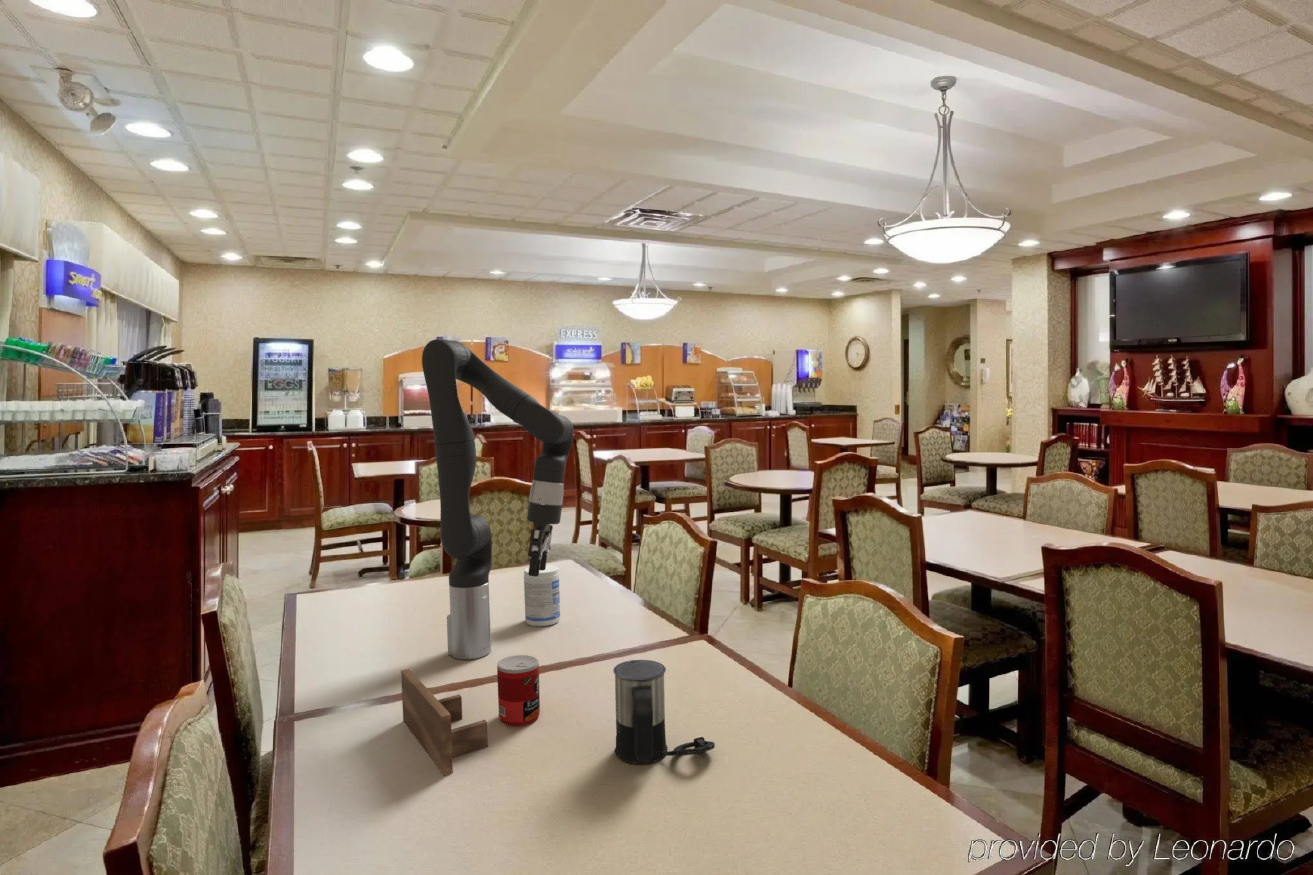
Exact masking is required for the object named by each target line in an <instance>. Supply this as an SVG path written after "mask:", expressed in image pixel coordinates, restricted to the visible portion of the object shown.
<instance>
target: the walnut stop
mask: <svg viewBox="0 0 1313 875" xmlns="http://www.w3.org/2000/svg"><path fill="white" fill-rule="evenodd" d="M400 674H401V675H400V676H401V677H400V678H401V700H402V702H401V703H402V722H403V724H404V725H405V726H406V728H408V730H409V731H410V732H411V734H412V735H413V736H414V737H415V739H416V741H417V742H418V743H419V744H420V746H421V747H422V749H423V750H424V751H425V752H426V755H428V757H429V758H430V759H431V761H432V763H434V765H435V766H436V768H437V769H438V770H439V771H440V773H441V774H442V775H443V776H448V775H451V774H453V773H454V769H453V768H454V767H453V766H454V765H453V759H454V758H458V757H460V756H463V755H467V754H470V753H473V752H476V751H479V750H482V749H486V748H489V738H488V734H489V733H488V721H487V720H486V719H482V720H479V721H476V722H472V723H468V724H465V725H462V726H458V727H455V728H452V723H454V722H458V721H461V720H463V706H462V705H463V703H462V702H463V701H462V696H461V694H456V695H452V696H448V697H444V698H440V699H437V697H436V696H435V695H434V694H433V693H432V692H431V691H430V689H428V687H426V685H424V684H425V683H423V682H422V681H421V680H420V679H419V678H418V677H417V676H416V675H415V674H414V672H412V670H411V669H410V668H407V669H401V670H400Z"/></svg>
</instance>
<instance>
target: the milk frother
mask: <svg viewBox="0 0 1313 875" xmlns="http://www.w3.org/2000/svg"><path fill="white" fill-rule="evenodd" d="M666 671H667V668H666V666H665V665H664V664H663V663H661V662H658V661H656V660H650V659H630V660H627V661H624V662H620V663H618V664H617V665H615V666H614V667H613V671H612V672H613V674H614V679H615V680H614V683H615V684H614V685H615V687H614V688H615V691H614V692H615V694H614V695H615V699H614V700H615V727H616V728H615V730H616V731H615V732H616V736H615V748H614V754H615V756H616V757H617V758H618V759H619V760H621V761H623V762H626V763H629V764H633V765H634V764H635V765H640V764H641V765H646V764H651V763H655V762H658V761H659V760H661V759H662V760H663V758H664V757H665V756H669V757H670V756H673V757H674V756H675V757H676V756H690V755H696V754H697V755H702V754H705V753H706V752H708V751H711V750H713V749H715V748H716V747H715V746H716V744H715V742H714V741H709V740H706V739H705V738H704V736H700V737H695V738H694V739H693V741H692V742H686V743H685V742H684V743H683V744H679V745H678V746H676V747H674V748H673V750H668V745H667V740H666V738H667V737H666V720H665V719H666V718H665V717H666V714H665V712H666V711H665V710H666V709H665V708H666V706H665V700H666V699H665V673H666Z"/></svg>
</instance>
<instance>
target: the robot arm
mask: <svg viewBox="0 0 1313 875" xmlns="http://www.w3.org/2000/svg"><path fill="white" fill-rule="evenodd" d="M421 366H422V371H423V377H424V381H425V385H426V389H427V390H426V391H427V394H428V400H429V406H430V407H429V408H430V414H431V422H432V424H431V425H432V431H433V442H434V454H435V463H436V467H437V469H436V470H437V478H438V487H439V488H438V489H439V501H440V503H439V504H440V506H439V507H440V516H439V517H440V518H439V519H440V522H439V523H440V530H439V531H440V541H441V545H442V548H443V550H444V552H445V553H446V554H447V555H448V556H449V557H450V558H452V559H454V560H455V559H456V561H455V564H454V566H453V568H452V569H451V571H450V572H449V575H448V585H449V586H448V587H449V588H448V589H449V590H448V591H449V614H447V616H446V633H447V634H446V636H447V655H448V656H452V657H453V658H454V659H457V660H474V659H475V660H476V659H479V658H483V657H486V656H487V655H489V654H490V653H491V651H492V646H491V645H492V643H491V642H492V641H491V639H492V638H491V615H490V614H491V612H490V611H491V610H490V586H489V585H490V582H489V576H490V572H491V569H492V561H493V560H492V554H493V552H492V551H493V548H492V547H493V545H492V544H493V543H492V542H493V541H492V540H493V539H492V538H493V537H492V530H491V527H490V525H489V522H488V521H487V520H486V518H485V517H483V516H482V515H478V514H471V509H470V494H471V493H470V492H471V491H470V490H471V487H472V483H473V479H474V476H475V472H476V468H477V449H476V441H475V434H474V431H473V428H472V425H471V423H470V421H469V419H468V417H467V415H466V413H465V412H464V409H463V407H462V405H461V403H460V400H459V399H460V398H459V395H458V387H457V386H458V385H457V380H458V381H461V382H462V383H465V384H466V385H468V386H471V387H472V388H474V389H476V390H477V391H479V392H480V393H481V394H482V395H483V396H484V397H485V398H486V399H487V401H488V402H489V403H490V405H492V406H493V407H494V409H496V410H497V411H499V412H500V413H501V414H503V415H504V416H506V417H507V418H509V419H510V420H511V421H513V422H515V423H517V424H518V425H520V426H521V427H523V429H525V430H526V431H527V432H528V433H529V434H530V435H531V436H533V437H534V438H536V439H537V440H538V441H540V442H541V443H543V445H542V450H541V453H540V454H539V456H537V457H536V459H535V463H534V468H533V469H534V470H533V473H532V475H533V476H532V482H531V486H530V489H529V490H530V491H529V499H528V507H527V513H526V520H527V521H528V522H530V523H535V527H534V528H532V529H531V531H530V538H529V539H530V540H529V547H528V552H527V556H528V557H529V565H528V566H529V573H528V574H529V576H535V577H537V576H538V575H539V570H542V571H543V570H545V569H546V565H547V558H548V555H549V552H550V550H551V544H552V535H553V529H554V526H553V525H559V524H560V523H561V517H562V510H563V509H562V508H563V502H564V501H563V500H564V493H565V492H564V486H565V485H564V484H565V482H564V481H565V475H566V468H567V467H566V466H567V465H566V464H567V461H568V458H569V456H570V453H571V448H572V444H573V441H574V433H575V432H574V425H573V423H572V421H571V420H570V419H569V418H568V417H566V416H564V415H563V414H562V415H561V414H558V413H556V412H553V411H552V410H550V409H548V408H547V407H545V406H544V405H542V404H541V403H540V402H539V401H538V400H537V399H536V398H535V397H534V396H532V395H531V394H529V393H528V392H526V391H525V390H523V389H522V388H520V387H518V386H517V385H515V384H514V383H512V382H511V381H509V380H507V379H506V378H504V376H503V377H502V376H501V375H500V374H499V373H498V372H496V371H495V370H493V368H491V367H490V366H489V365H487V364H486V363H485V362H484V361H483V360H482V359H481V358H480V357H478V355H476V354H475V353H474V352H473V351H472V350H471V349H470V348H469V347H467V345H465V344H464V343H463V342H460V341H456V340H450V339H449V340H448V339H440V338H439V339H438V338H437V339H433V340H430V341H429V342H427V343H426V344H425V346H424V348H423V350H422V355H421Z"/></svg>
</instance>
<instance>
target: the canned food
mask: <svg viewBox="0 0 1313 875" xmlns="http://www.w3.org/2000/svg"><path fill="white" fill-rule="evenodd" d="M496 670H497V671H496V673H497V674H496V675H497V676H496V677H497V698H498V699H497V700H498V702H497V703H498V718H499V720H500V722H501V723H502V724H504V725H506V726H510V727H521V726H522V727H524V726H527V725H530V724H533V723H534V722H536V721H537V720H538V718H539V716H540V712H541V707H540V706H541V704H540V703H541V702H540V701H541V699H540V698H541V697H540V696H541V695H540V666H539V660H538V658H536V657H534V656H531V655H525V654H518V655H517V654H515V655H510V656H507V657H503V658H502V659H500V660H498V662H497V666H496Z"/></svg>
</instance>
